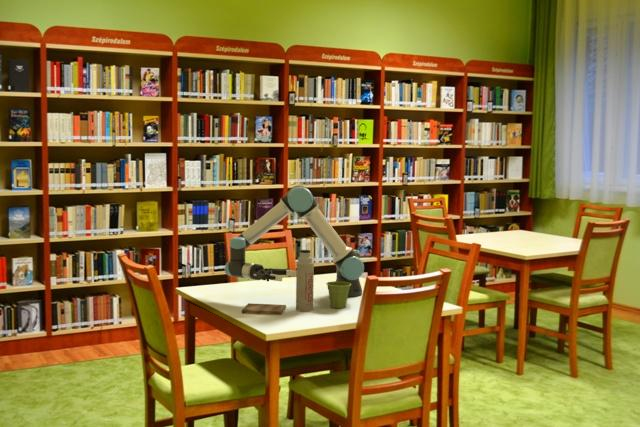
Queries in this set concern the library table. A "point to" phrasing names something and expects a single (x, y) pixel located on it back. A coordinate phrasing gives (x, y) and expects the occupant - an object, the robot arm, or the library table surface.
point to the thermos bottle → (304, 282)
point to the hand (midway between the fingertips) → (290, 276)
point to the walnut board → (264, 309)
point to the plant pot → (338, 293)
